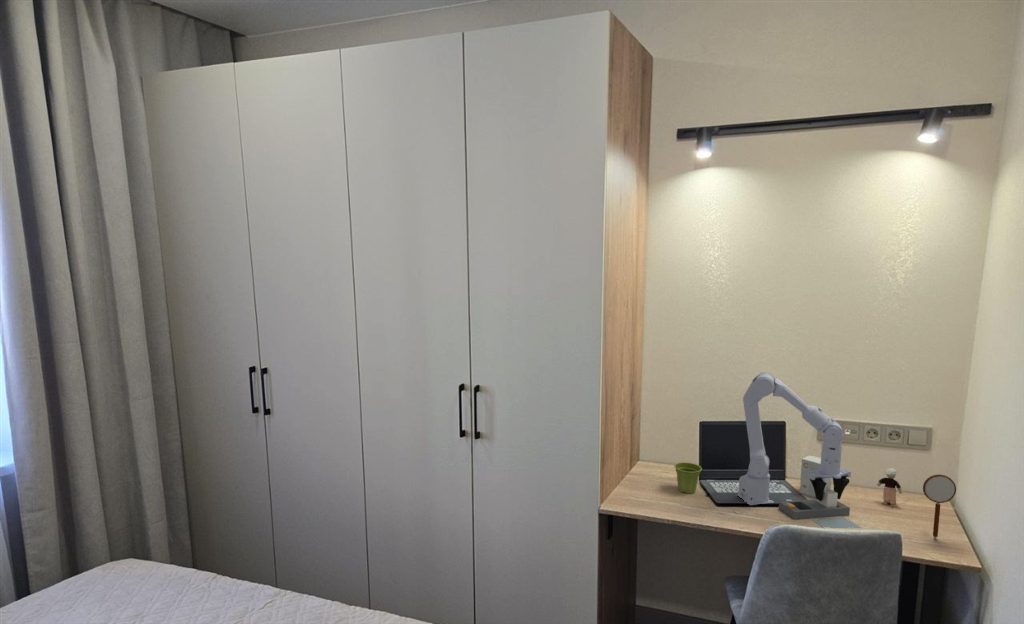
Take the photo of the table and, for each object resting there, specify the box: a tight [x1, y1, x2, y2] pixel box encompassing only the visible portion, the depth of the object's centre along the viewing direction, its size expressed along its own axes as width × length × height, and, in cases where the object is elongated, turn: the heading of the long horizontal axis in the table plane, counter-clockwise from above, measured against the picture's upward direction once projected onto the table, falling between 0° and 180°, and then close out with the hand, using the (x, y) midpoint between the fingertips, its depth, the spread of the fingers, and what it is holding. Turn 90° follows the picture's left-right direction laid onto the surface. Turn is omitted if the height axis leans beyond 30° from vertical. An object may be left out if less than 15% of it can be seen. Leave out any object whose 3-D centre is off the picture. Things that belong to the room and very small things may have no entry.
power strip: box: [778, 498, 851, 520], centre depth 193 cm, size 20×8×4 cm, turn 101°
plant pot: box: [674, 462, 703, 494], centre depth 211 cm, size 9×9×9 cm
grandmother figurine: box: [876, 467, 903, 508], centre depth 201 cm, size 8×4×13 cm, turn 47°
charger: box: [815, 486, 838, 508], centre depth 194 cm, size 4×5×8 cm
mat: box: [811, 516, 863, 528], centre depth 184 cm, size 12×10×1 cm
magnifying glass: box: [922, 474, 957, 540], centre depth 176 cm, size 9×2×20 cm, turn 77°
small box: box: [799, 454, 832, 499], centre depth 208 cm, size 8×6×13 cm
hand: (827, 498), depth 194 cm, fingers open, 6 cm apart
